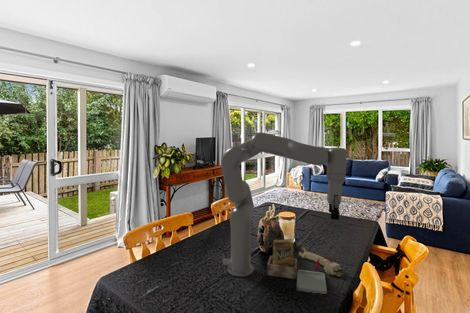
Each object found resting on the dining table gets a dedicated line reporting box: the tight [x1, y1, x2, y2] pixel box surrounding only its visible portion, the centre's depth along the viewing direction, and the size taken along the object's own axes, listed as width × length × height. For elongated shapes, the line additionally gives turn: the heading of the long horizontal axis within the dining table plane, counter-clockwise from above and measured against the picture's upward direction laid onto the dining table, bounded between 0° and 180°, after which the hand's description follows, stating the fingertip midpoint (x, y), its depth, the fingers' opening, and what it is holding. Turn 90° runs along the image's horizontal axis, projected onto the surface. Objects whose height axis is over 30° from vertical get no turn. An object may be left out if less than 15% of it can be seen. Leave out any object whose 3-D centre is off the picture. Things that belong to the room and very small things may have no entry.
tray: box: [296, 268, 328, 295], centre depth 116 cm, size 12×15×2 cm
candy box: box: [272, 238, 294, 267], centre depth 124 cm, size 9×4×15 cm, turn 92°
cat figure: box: [297, 242, 343, 277], centre depth 131 cm, size 10×9×25 cm
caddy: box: [266, 255, 298, 280], centre depth 125 cm, size 13×10×5 cm
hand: (333, 215), depth 114 cm, fingers open, 9 cm apart
